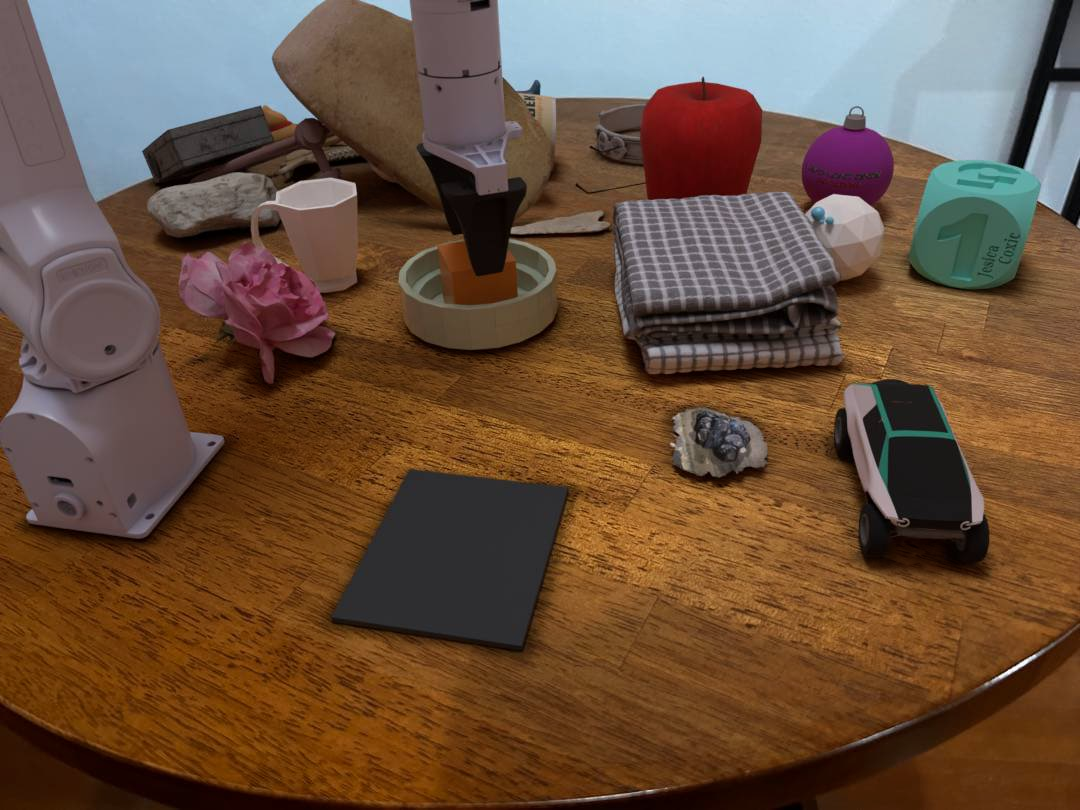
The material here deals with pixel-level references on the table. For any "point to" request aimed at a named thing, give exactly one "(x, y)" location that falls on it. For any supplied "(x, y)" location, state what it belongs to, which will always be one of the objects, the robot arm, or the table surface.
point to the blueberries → (716, 443)
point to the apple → (699, 140)
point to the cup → (319, 229)
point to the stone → (387, 95)
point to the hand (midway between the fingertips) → (476, 251)
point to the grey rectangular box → (207, 143)
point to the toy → (286, 128)
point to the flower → (257, 303)
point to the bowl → (481, 321)
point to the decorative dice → (973, 223)
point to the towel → (725, 283)
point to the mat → (457, 560)
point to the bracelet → (608, 139)
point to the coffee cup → (543, 115)
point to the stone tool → (565, 225)
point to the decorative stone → (214, 204)
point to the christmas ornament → (848, 162)
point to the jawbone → (309, 158)
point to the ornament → (848, 232)
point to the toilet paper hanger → (282, 152)
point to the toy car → (909, 469)
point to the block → (473, 278)
